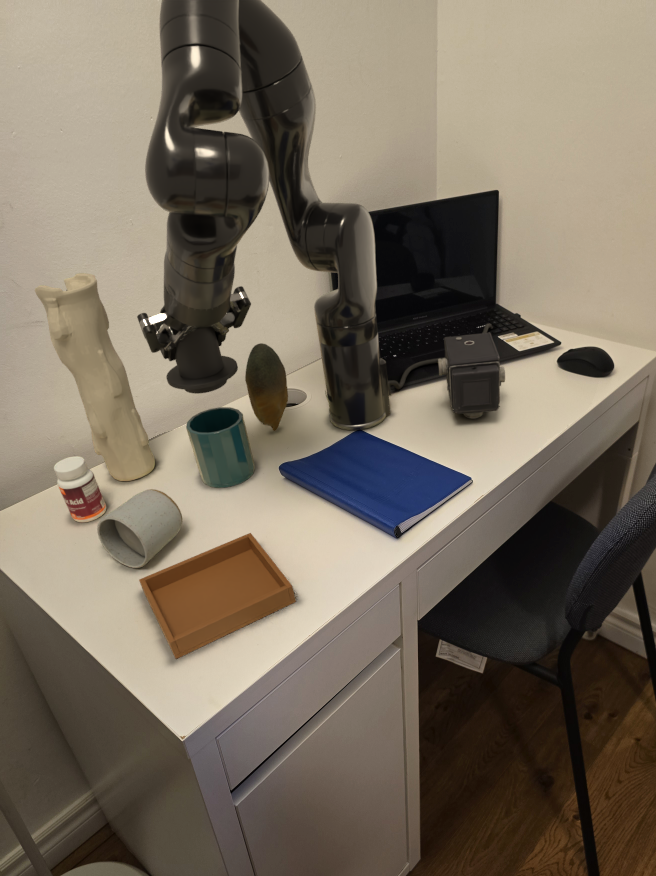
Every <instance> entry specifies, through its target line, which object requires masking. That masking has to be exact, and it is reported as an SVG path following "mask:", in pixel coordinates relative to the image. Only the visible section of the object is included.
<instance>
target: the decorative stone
mask: <svg viewBox="0 0 656 876" xmlns="http://www.w3.org/2000/svg"><path fill="white" fill-rule="evenodd" d="M244 379H245V381H244V382H245V385H246V389H247V395H248V398H249V402H250V406H251V409H252V411H253V414H254V416H255V417H256V419H257V420H258V421H259V422H260V423H261V424H262V425H264V426H270V428H271V430H272V431H273V432H277V430H278V428H279V426H280V424H281V421H282V418H283V415H284V413H285V411H286V408H287V406H288V402H289V391H288V380H287V372H286V368H285V366H284V364H283V362H282V360H281V358H280V356H279V354H278V353H277V352H276V351H275V350H274V348H272V347H271V346H270V345H268V344H266V343H257V344H255V345H254V346H253V347H252V348H251V350H250V352H249V354H248V358H247V362H246V367H245V376H244Z"/></svg>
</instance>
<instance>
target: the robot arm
mask: <svg viewBox="0 0 656 876" xmlns="http://www.w3.org/2000/svg"><path fill="white" fill-rule="evenodd" d="M159 10H160V11H159V24H158V25H159V29H158V30H159V47H160V49H159V50H160V65H161V91H160V101H159V106H158V112H157V115H156V119H155V122H154V126H153V129H152V133H151V136H150V139H149V143H148V147H147V152H146V157H145V164H144V173H145V175H144V176H145V182H146V186H147V189H148V191H149V194H150V195H151V197H152V199H153V200H154V201H155V203H156V204H157V205H158V206H159V207H160V208H161V209H162V210H164V211H166V212H167V213H168V215H167V218H166V219H167V220H166V247H165V248H166V250H165V253H164V258H163V306H162V308H161V309H160V312H159V313H158V314H156V315H152V316H151V315H150V316H149V315H148V313H147V312H142V313H139V314H138V315H137V316H136V317H137V322H138V324H139V326H140V329H141V332H142V334H143V337H144V339H145V340H146V342H147V345H148V347H149V350H150V353H152V354H153V353H159V352H160V353H161V356H162V357H163V359H164V360H167V359H168V361H169V362H173V361H176V360H175V349H176V348H175V346H176V345H177V343H181V342H183V341H184V340H185V339H186V338H187V336H188V335H189V334H190V333H191V332H194V331H195V330H197V329H202V328H206V327H212V328H213V329H214V330H215V333H216V337H217V340H218V344H219V347H222V345H223V343H224V342H225V340H226V339H227V338H226V337H227V334H228V333H229V332H230V328H232V327H233V328H234V329H239V328H240V327H242V326H243V324H244V322H245V320H246V317H247V315H248V313H249V310H250V309H251V306H252V302H251V300H250V298H249V297H248V294H247V292H246V291H245V288H244V286H242V285H241V286H240V285H239V286H237V287H235V288H234V290H233V286H234V281H235V272H236V266H235V265H236V264H235V261H236V256H237V250H238V245H239V243H240V242H241V240H242V238H243V237H244V236H245V234H246V233H247V231H249V229H250V228H251V226H252V225H253V224H254V222H255V221H256V220H257V218H258V216H259V214H260V213H261V211H262V209H263V207H264V204H265V201H266V198H267V195H268V191H269V185H270V187H271V189H272V192H273V195H274V198H275V201H276V205H277V208H278V210H279V213H280V217H281V219H282V223H283V225H284V229H285V232H286V235H287V238H288V241H289V244H290V246H291V249H292V251H293V253H294V255H295V257H296V259H297V260H298V262H299V263H300V265H302V266H303V267H304V268H306V269H307V270H310V271H314V272H322V273H335V274H336V273H337V277H338V278H337V280H338V282H337V283H338V287H337V289H334V290H330V291H328V292H326V293H324V294H322V295H320V296H319V297H318V298H317V299H316V300H315V302H314V305H313V310H314V319H315V323H316V330H317V337H318V342H319V343H318V344H319V350H320V357H321V363H322V370H323V377H324V384H325V390H324V392H325V393H324V394H325V398H326V400H327V403H328V404H327V405H328V412H329V420H330V423H331V424H332V425H333V426H334V427H336V428H338V429H342V430H346V431H347V430H348V431H357V430H366V429H370V428H373V427H375V426H378V424H381V423H382V422H383V421H384V420H385V418H386V417H387V416H391V414H392V413H391V403H390V401H391V400H390V397H391V396H392V393H391V392H392V391H391V386H394V388H395V389H396V390H401V389H402V388H403V387H404V385H405V383H406V379H407V378H408V376H409V374H411V372H412V371H413V370H415V369H417V368H419V367H423V366H428V365H432V364H438V359H443V358H445V356H444V357H437V358H431V359H426V360H421V361H419V362H416V363H413V364H411V365H410V366H408V367H407V368H406V369H405V370H404V371H403V374H402V376H401V378H400V381H399V382H398V381H397V380H393V379H392V380H388V370H387V361H386V360H385V359H383V358H382V357H381V350H380V340H379V339H380V338H379V332H378V331H379V329H378V319H377V310H376V301H377V293H378V280H377V279H378V277H377V260H376V259H377V258H376V257H377V256H376V235H375V229H374V224H373V219H372V216H371V215H370V213H369V211H368V209H367V208H366V207H365V206H364V205H362V204H359V203H355V202H354V203H353V202H323V201H322V200H321V199H320V197H319V196H318V194H317V191H316V189H315V186H314V184H313V180H312V178H311V177H312V176H311V174H310V168H309V155H310V148H311V144H312V139H313V134H314V129H315V122H316V114H317V113H316V112H317V107H316V106H317V103H316V95H315V92H314V88H313V85H312V82H311V79H310V75H309V73H308V70H307V66H306V64H305V60H304V58H303V56H302V52H301V50H300V47H299V44H298V41H297V39H296V37H295V36H294V34H293V33H292V31H291V29H290V28H289V27H288V26H287V25H286V23H284V22H283V20H282V19H281V18H280V17H279V16H278V14H276V13H275V12H274V11H273V10H272V9H271V8H270V7H269V5H267V4H266V3H265V2H264V1H262V0H161V3H160V9H159ZM238 113H239V115H240V117H241V119H242V121H243V123H244V125H245V127H246V129H247V131H248V132H247V133H248V134H249V135H246V134H243V133H238V132H231V131H222V130H215V129H207V128H200V127H203V126H208V125H209V126H210V125H214V124H220V123H223V122H228V121H229V120H231V119H233V118H234V117H235V116H236V115H237V114H238ZM232 291H233V293H232ZM492 329H494V327H493V325H492V324H491V323H486V324H485V325H484V328H483V330H482V333H488V331H489V330H492Z"/></svg>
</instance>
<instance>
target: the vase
mask: <svg viewBox="0 0 656 876" xmlns="http://www.w3.org/2000/svg"><path fill="white" fill-rule="evenodd" d="M63 282H64V285H65V289H66V290H63V289H61V288H60V287H53V286H49V285H44V284H40V285H37V286H36V287H35V288H34V292H35V294H36V297H37V298H38V299H39V301H40V302H41V303H42V305H43V308H44V310H45V313H46V318H47V322H48V323H47V324H48V331H49V337H50V341H51V344H52V346H53V349H54V350H55V353H56V354H57V356H58V358H59V360H60V362H61V363H62V364H63V365H64V366H65V367H66V369H68V371H69V372H70V373H71V374H72V376H73V378H74V381H75V384H76V387H77V390H78V393H79V397H80V399H81V402H82V405H83V408H84V412H85V415H86V419H87V421H88V424H89V427H90V430H91V431H90V434H91V441H92V445H93V449H94V452H95V454H96V455H98V456H101V457H102V458H103V460H104V463H105V465H106V468H107V470H108V473H109V475H111V477H112V478H113V479H115V480H116V481H119V482H129V481H134V480H137V479H141V478H143V477H145V476H147V475H148V474H150V473H151V472H152V471H153V470H154V468H155V466H156V460H155V459H156V458H155V457H154V454H153V452H152V449H151V447H150V444H149V441H150V440H149V435H148V434H147V433H148V432H147V431H146V429H145V428H144V425H143V422H142V419H141V415H140V414H139V412H138V410H137V408H136V404H135V401H134V396H133V393H132V389H131V385H130V382H129V378H128V373H127V370H126V368H125V365H124V363H123V361H122V359H121V357H120V356H119V354H118V352H117V351H116V349H115V347H114V345H113V343H112V340H111V337H110V334H109V331H108V330H109V329H110V321H109V316H108V313H107V311H106V308H105V306H104V304H103V302H102V300H101V298H100V295H99V290H98V289H99V288H98V280H97V279H96V275H95V274H91V273H87V272H79V273H75V275H74V276H71V277H67V278H64V279H63Z"/></svg>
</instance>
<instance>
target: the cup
mask: <svg viewBox="0 0 656 876" xmlns="http://www.w3.org/2000/svg"><path fill="white" fill-rule="evenodd" d="M185 428H186V432H187V435H188V438H189V442H190V445H191V449H192V453H193V455H194V456H193V457H194V459H195V462H196V465H197V469H198V472H199V476H200V478H201V481H202V482H203V484H204V485H206V486H207V487H211V488H216V489H218V488H219V489H223V488H229V487H234V486H238V485H240V484H242V483H243V482H246V481H248V480H249V479H250V478H251V477H252V476H253V475H254V473H255V471H256V466H255V460H254V455H253V452H252V447H251V444H250V440H249V439H250V438H249V435H248V431H247V427H246V421H245V418H244V414H243V412H242V411H241V410H240V409H238V408H234V407H230V406H227V407H226V406H220V407H219V406H218V407H214V408H208V409H206V410H203V411H200V412H198V413H196V414H194V415H193V416H191V417H190V418H189V419H188V421H187V422H186V426H185Z"/></svg>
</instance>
